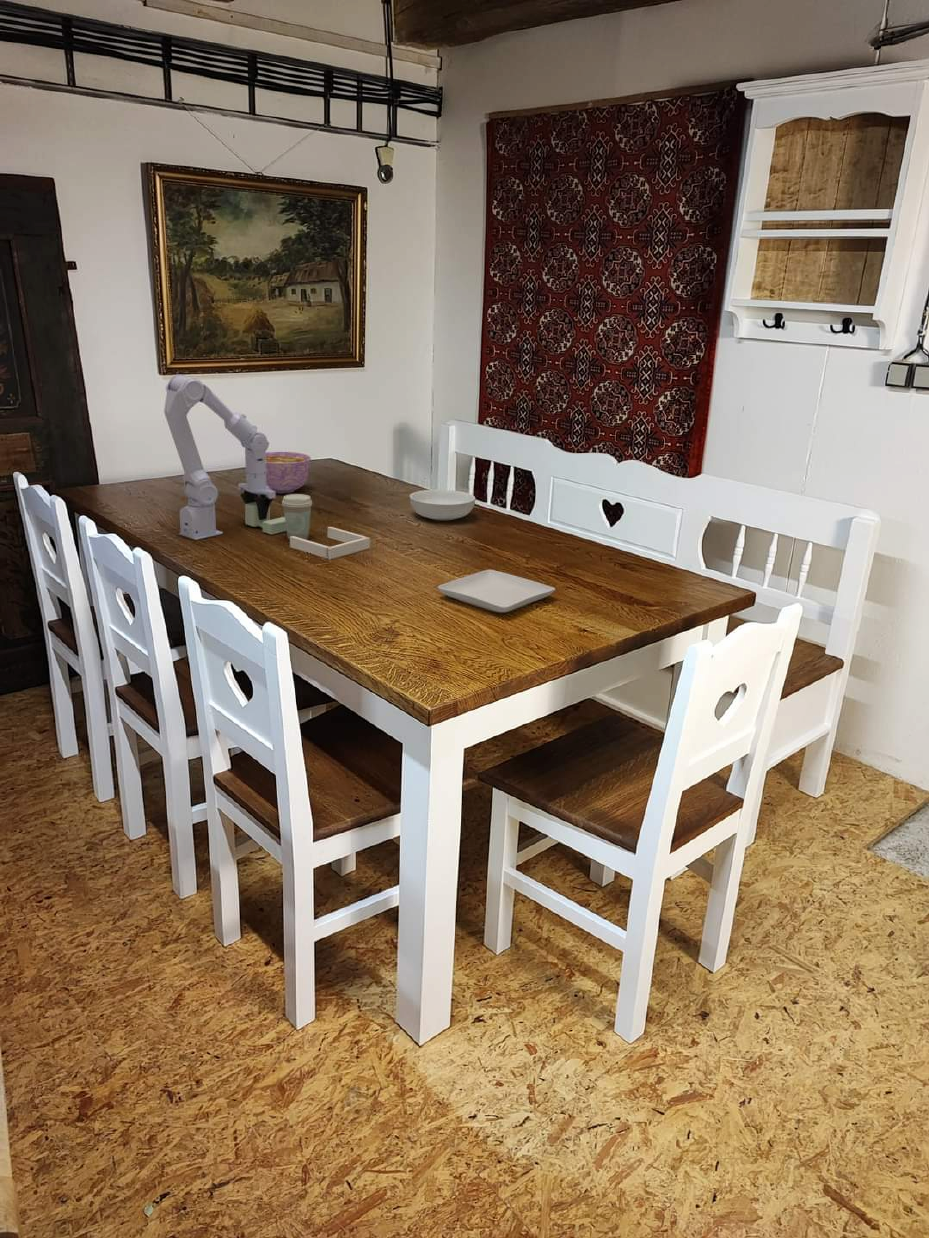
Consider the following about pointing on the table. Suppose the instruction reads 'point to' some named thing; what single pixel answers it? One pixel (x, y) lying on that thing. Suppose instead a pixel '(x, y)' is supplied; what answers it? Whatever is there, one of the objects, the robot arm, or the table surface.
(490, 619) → the table surface
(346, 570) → the table surface
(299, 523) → the coffee cup
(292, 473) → the bowl of food
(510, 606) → the salad plate
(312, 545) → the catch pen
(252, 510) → the square dumbbell
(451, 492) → the serving bowl
